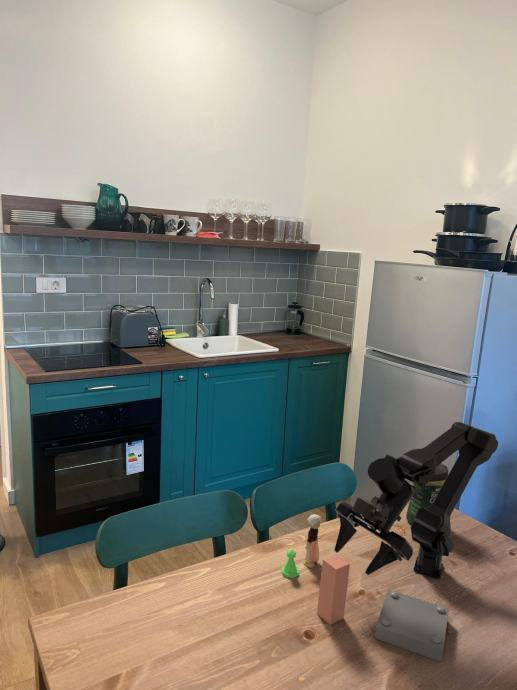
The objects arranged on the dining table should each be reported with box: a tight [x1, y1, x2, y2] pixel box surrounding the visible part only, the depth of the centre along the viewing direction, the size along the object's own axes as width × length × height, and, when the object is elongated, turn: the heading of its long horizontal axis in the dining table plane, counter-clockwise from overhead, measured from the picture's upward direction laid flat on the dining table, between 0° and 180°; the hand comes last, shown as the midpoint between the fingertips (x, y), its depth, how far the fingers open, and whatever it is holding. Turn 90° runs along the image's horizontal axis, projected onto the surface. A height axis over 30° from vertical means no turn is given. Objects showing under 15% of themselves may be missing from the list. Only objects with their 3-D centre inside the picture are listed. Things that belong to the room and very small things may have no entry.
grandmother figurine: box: [303, 514, 322, 569], centre depth 133 cm, size 8×4×13 cm, turn 168°
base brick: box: [374, 589, 450, 662], centre depth 112 cm, size 13×13×4 cm
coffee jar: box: [405, 462, 449, 525], centre depth 155 cm, size 10×8×19 cm
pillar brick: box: [316, 553, 351, 626], centre depth 114 cm, size 4×4×13 cm
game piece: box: [280, 549, 300, 579], centre depth 128 cm, size 4×4×6 cm
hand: (350, 562), depth 115 cm, fingers open, 9 cm apart
